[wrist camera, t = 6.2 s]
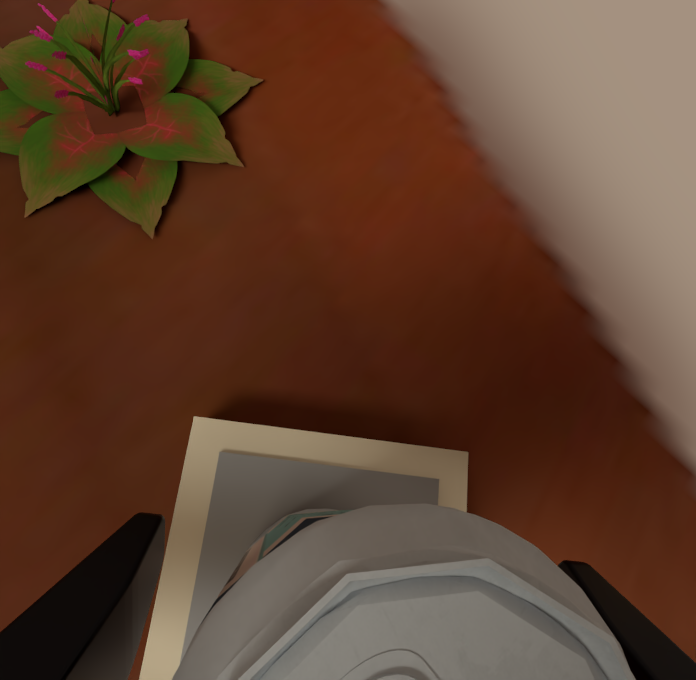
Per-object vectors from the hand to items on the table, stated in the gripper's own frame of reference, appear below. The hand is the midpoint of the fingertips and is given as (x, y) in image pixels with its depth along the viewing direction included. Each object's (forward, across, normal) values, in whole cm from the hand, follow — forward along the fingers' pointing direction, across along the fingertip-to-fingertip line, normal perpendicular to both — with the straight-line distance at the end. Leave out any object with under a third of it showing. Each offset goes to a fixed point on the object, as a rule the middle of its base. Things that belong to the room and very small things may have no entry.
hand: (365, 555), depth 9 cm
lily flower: (+18, +10, -4) cm, 21 cm away
